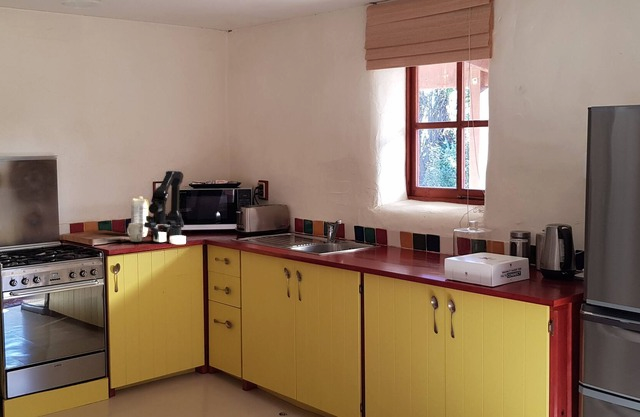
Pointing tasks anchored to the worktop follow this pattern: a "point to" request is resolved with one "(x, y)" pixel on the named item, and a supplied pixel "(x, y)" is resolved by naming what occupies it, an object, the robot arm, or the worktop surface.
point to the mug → (135, 231)
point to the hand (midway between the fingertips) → (159, 239)
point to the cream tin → (177, 239)
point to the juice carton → (140, 212)
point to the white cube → (161, 237)
